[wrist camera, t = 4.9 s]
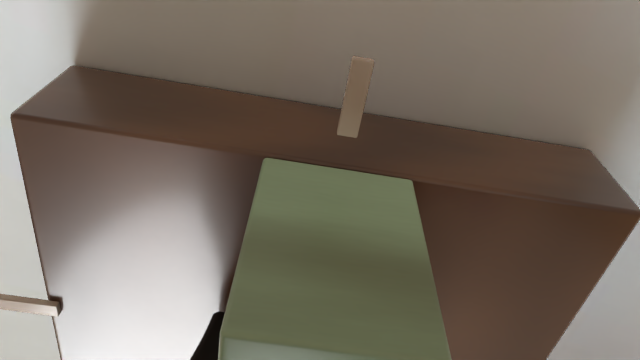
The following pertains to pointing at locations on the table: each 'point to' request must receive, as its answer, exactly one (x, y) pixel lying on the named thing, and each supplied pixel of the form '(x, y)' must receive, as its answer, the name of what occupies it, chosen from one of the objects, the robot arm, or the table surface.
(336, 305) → the mint green brick
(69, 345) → the brown piece
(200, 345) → the robot arm
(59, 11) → the table surface
